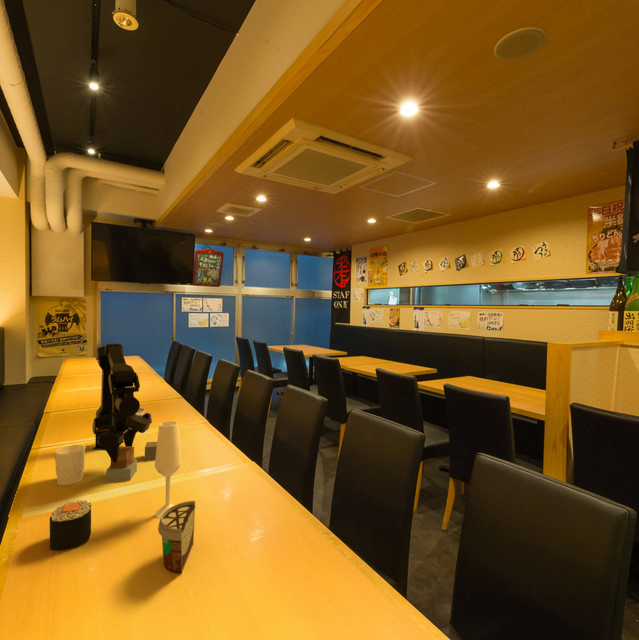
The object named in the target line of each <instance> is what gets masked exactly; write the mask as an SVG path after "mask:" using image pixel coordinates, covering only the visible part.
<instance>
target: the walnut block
mask: <svg viewBox="0 0 639 640" xmlns="http://www.w3.org/2000/svg"><path fill="white" fill-rule="evenodd" d="M134 460H135V446H132V447H131V446H125V445H124V446H121V445H120V446H119V453H118V459H117V462H113V461H112V460H111V459H110V465H111V468H127V467H128V466H129V465H131V464H132V463H133V462H134Z"/></svg>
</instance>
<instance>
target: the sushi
mask: <svg viewBox="0 0 639 640" xmlns="http://www.w3.org/2000/svg"><path fill="white" fill-rule="evenodd" d="M92 506H93V505H92V502H91V501H89V502H88V500H85V499H83V500H79V499H76V501H75V500H74V501H68V502H66V503H64V504H61V505H60V506H57V508H55V510H53V511H52V512H51V514H50V517H49V550H50V551H54V552H64V551H68V550H72V549H77V548H79V547H81V546H83V545H84V544H86V543H88V541H89V540H90V538H91V535H92Z"/></svg>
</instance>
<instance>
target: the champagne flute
mask: <svg viewBox="0 0 639 640" xmlns="http://www.w3.org/2000/svg"><path fill="white" fill-rule="evenodd" d="M156 442H157V449H156V458H155V460H154V468H155V470H156V471H157V472H158V474H160V475H161V476H163V477H165V504H164V505H162V506H160V507H159V508H158V509H156V510H155V511H154V517H156V518H158V519H161V517H162V515H163V513H164V512H165V511H166V510H167V509H169V508H170V507H172V506H174V505H175V504H172V503H171V478H172V476H173V475H174V474H175V473H176V472H177V471H179V469H180V468H181V465H182V464H183V462H182V451H181V450H182V449H181V441H180V428H179V422H178V421H176V420H166V421H163V422H160V423H158V434H157V440H156Z"/></svg>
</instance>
